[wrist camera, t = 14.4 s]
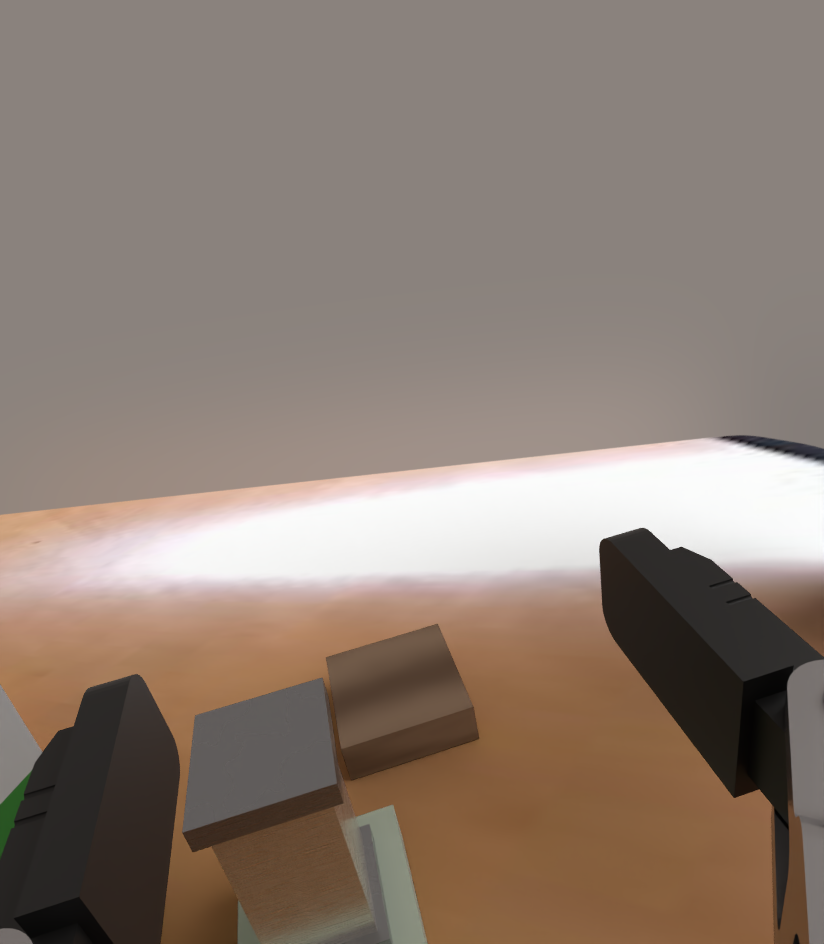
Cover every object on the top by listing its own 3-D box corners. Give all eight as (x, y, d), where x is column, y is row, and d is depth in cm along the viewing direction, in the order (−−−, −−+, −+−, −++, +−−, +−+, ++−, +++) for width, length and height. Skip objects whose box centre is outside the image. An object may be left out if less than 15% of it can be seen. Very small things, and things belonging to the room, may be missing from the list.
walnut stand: (334, 686, 51) (325, 657, 50) (443, 652, 52) (437, 623, 51) (351, 780, 43) (341, 749, 42) (479, 738, 44) (473, 706, 43)
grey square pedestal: (266, 873, 35) (195, 715, 30) (373, 837, 36) (322, 677, 30) (269, 997, 30) (182, 832, 24) (394, 952, 30) (337, 783, 25)
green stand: (253, 888, 38) (238, 856, 36) (402, 837, 39) (392, 804, 37) (255, 1079, 30) (236, 1047, 28) (442, 1008, 31) (432, 974, 29)
